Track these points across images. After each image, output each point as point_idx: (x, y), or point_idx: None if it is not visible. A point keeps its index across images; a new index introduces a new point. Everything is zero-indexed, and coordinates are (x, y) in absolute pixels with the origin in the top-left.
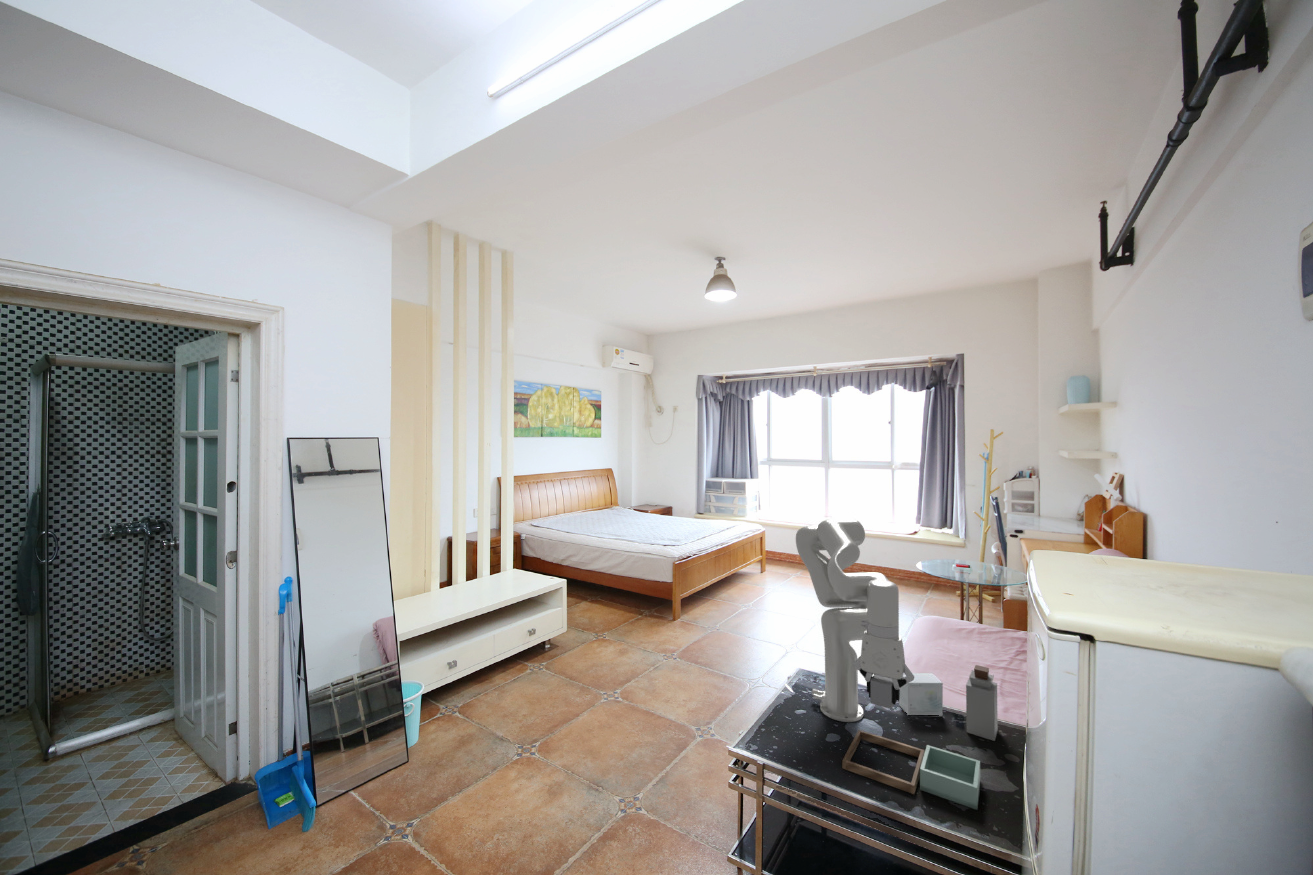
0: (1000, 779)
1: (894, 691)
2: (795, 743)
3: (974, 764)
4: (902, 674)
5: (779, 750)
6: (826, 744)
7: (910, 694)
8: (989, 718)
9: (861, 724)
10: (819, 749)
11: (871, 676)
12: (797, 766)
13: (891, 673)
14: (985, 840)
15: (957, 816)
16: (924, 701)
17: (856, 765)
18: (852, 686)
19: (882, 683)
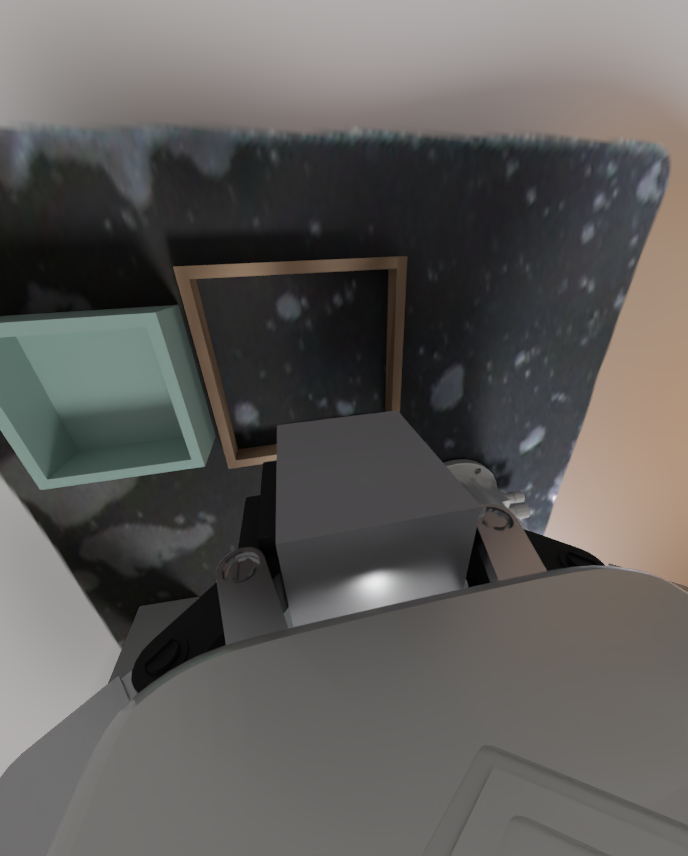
0: (48, 493)
1: (261, 522)
2: (534, 293)
3: (59, 472)
4: (62, 832)
5: (575, 222)
6: (457, 347)
7: None
8: (130, 658)
9: None
10: (470, 310)
11: (470, 571)
12: (520, 166)
13: (264, 735)
14: None
15: (23, 234)
16: (290, 623)
17: (362, 259)
18: None
19: (367, 526)
